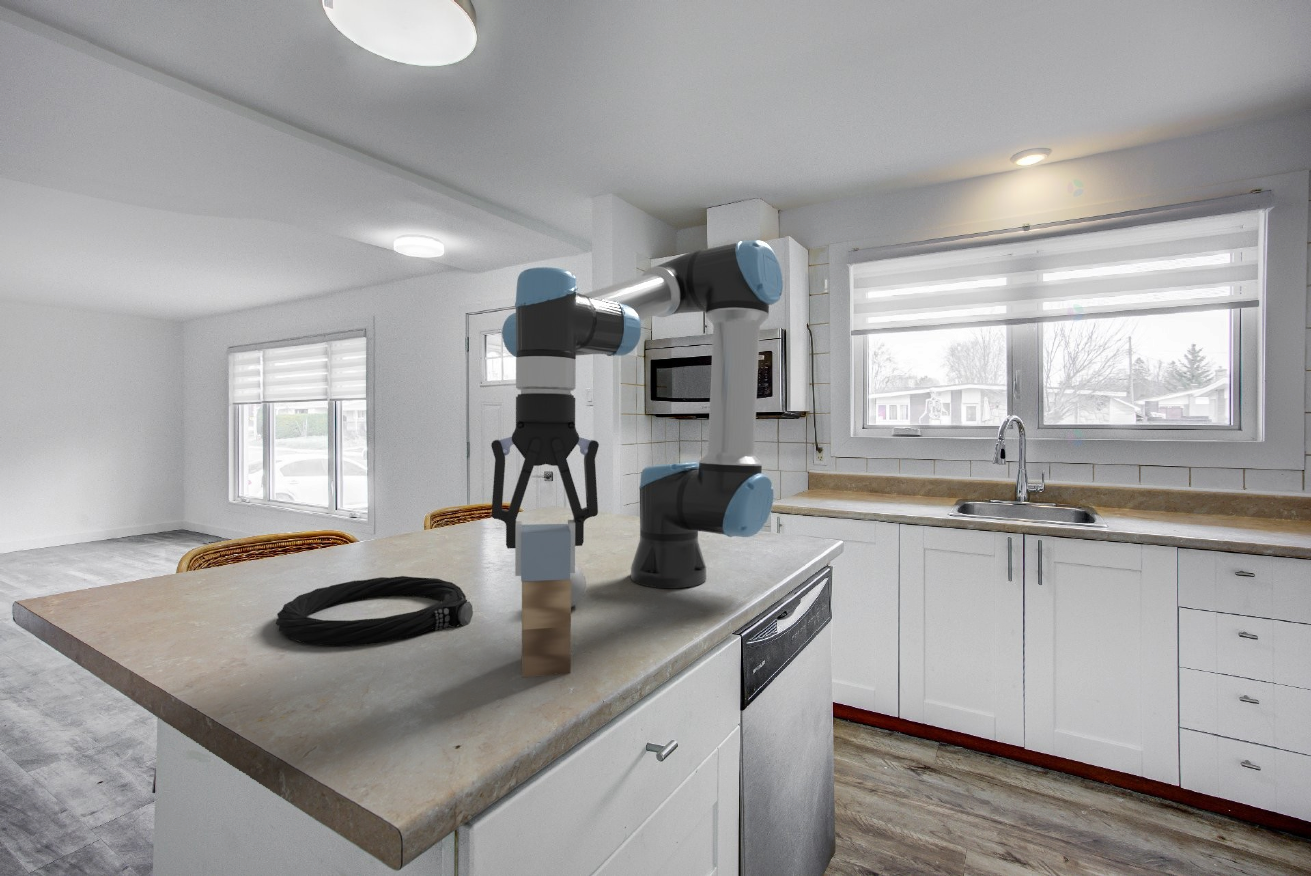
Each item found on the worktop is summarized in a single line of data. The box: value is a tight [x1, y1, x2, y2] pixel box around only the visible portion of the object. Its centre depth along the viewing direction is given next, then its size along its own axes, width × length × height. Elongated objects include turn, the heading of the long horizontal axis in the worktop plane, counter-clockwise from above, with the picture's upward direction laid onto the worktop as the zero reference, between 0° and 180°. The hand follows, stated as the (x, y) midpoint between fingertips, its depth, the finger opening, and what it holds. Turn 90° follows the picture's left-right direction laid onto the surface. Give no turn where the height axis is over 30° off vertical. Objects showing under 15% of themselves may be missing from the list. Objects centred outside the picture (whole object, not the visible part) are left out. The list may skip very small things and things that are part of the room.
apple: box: [570, 564, 587, 608], centre depth 103 cm, size 8×8×8 cm
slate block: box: [520, 523, 571, 582], centre depth 78 cm, size 6×6×6 cm
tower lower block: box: [521, 625, 572, 678], centre depth 79 cm, size 6×6×6 cm
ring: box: [274, 575, 474, 647], centre depth 98 cm, size 28×4×30 cm
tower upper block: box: [521, 578, 572, 631], centre depth 79 cm, size 6×6×6 cm
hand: (545, 571), depth 79 cm, fingers closed on slate block, 6 cm apart
